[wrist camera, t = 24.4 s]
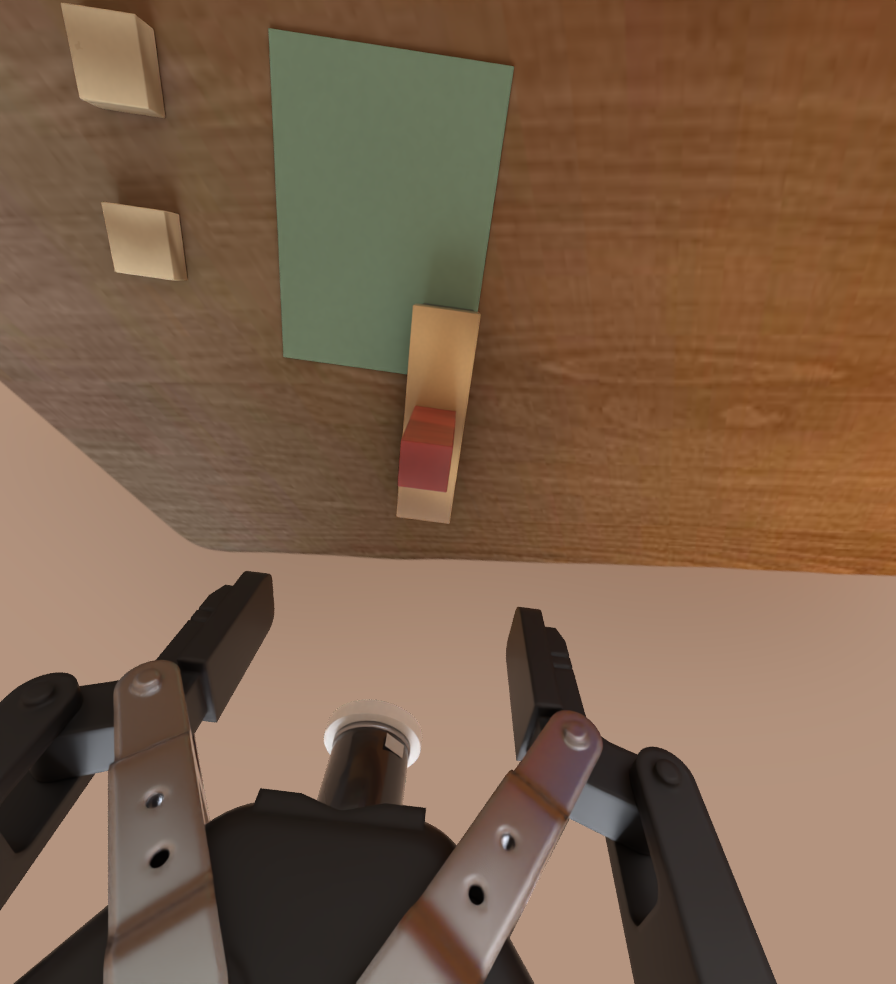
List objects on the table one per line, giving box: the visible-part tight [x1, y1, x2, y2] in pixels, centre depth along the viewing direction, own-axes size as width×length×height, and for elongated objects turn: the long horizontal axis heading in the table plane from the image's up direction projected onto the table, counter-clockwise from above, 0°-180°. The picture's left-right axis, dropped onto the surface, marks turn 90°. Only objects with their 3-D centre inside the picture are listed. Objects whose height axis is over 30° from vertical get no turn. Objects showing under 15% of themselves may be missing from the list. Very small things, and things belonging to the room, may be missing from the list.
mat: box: [268, 28, 514, 374], centre depth 28 cm, size 18×14×1 cm
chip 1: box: [61, 3, 165, 118], centre depth 24 cm, size 4×4×2 cm
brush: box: [396, 303, 481, 524], centre depth 29 cm, size 16×4×10 cm, turn 173°
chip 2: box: [101, 202, 188, 281], centre depth 28 cm, size 4×4×2 cm
